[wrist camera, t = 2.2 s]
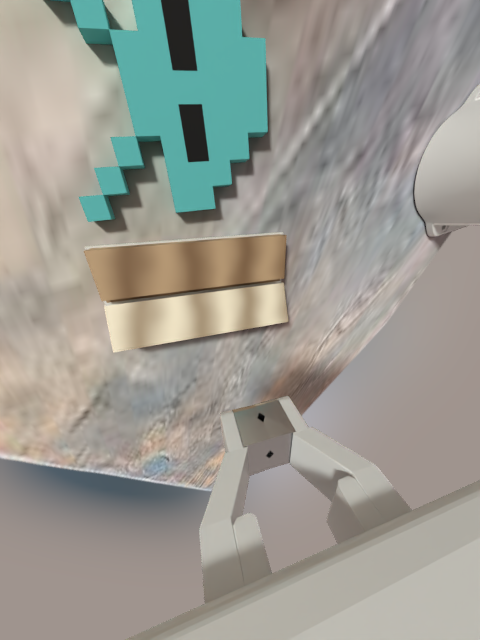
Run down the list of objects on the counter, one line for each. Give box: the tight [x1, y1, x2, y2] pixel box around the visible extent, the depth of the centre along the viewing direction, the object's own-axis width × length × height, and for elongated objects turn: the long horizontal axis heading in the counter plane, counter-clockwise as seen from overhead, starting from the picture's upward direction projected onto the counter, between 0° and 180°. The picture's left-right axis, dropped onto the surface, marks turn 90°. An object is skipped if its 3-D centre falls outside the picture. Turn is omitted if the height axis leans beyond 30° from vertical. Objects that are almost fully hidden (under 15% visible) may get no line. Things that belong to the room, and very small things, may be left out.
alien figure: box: [52, 0, 268, 222], centre depth 20 cm, size 20×2×20 cm
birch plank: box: [104, 283, 288, 352], centre depth 29 cm, size 23×6×2 cm, turn 92°
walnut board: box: [84, 234, 286, 303], centre depth 27 cm, size 23×6×2 cm, turn 92°
